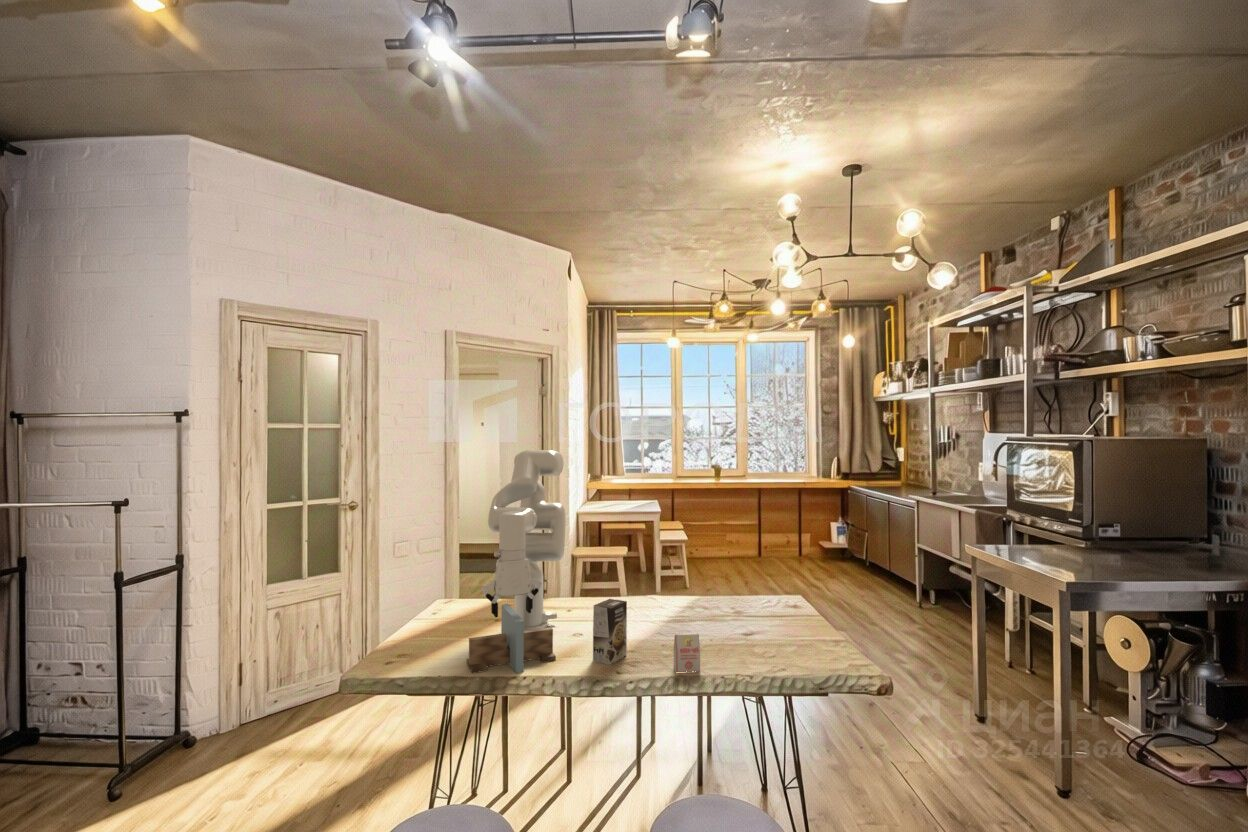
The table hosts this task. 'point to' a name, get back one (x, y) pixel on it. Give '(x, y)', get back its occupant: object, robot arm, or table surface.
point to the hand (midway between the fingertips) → (512, 613)
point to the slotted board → (497, 652)
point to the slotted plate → (513, 636)
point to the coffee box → (609, 631)
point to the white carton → (686, 653)
